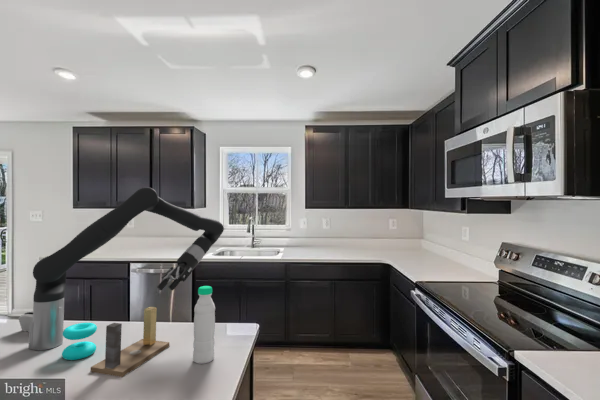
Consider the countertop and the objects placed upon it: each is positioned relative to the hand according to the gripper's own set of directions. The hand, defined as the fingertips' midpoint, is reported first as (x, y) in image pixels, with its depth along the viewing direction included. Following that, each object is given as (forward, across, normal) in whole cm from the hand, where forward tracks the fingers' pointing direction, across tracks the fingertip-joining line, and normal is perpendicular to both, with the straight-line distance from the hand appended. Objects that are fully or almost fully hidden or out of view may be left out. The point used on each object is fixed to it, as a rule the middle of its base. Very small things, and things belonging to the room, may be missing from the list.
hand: (164, 288), depth 123 cm
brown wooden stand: (+22, -1, +9) cm, 24 cm away
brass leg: (+16, -4, +11) cm, 20 cm away
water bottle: (+14, +18, +21) cm, 31 cm away
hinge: (+29, -53, -8) cm, 61 cm away
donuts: (+30, -17, -1) cm, 35 cm away
